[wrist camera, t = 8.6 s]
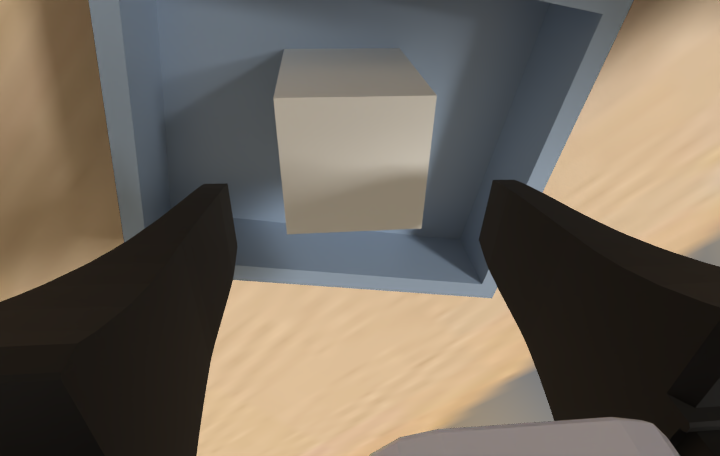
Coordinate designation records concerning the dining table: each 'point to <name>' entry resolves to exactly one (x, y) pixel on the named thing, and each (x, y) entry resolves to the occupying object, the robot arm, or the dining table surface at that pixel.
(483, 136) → the slate blue bin
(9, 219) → the dining table surface
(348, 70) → the cream block
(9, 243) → the dining table surface
